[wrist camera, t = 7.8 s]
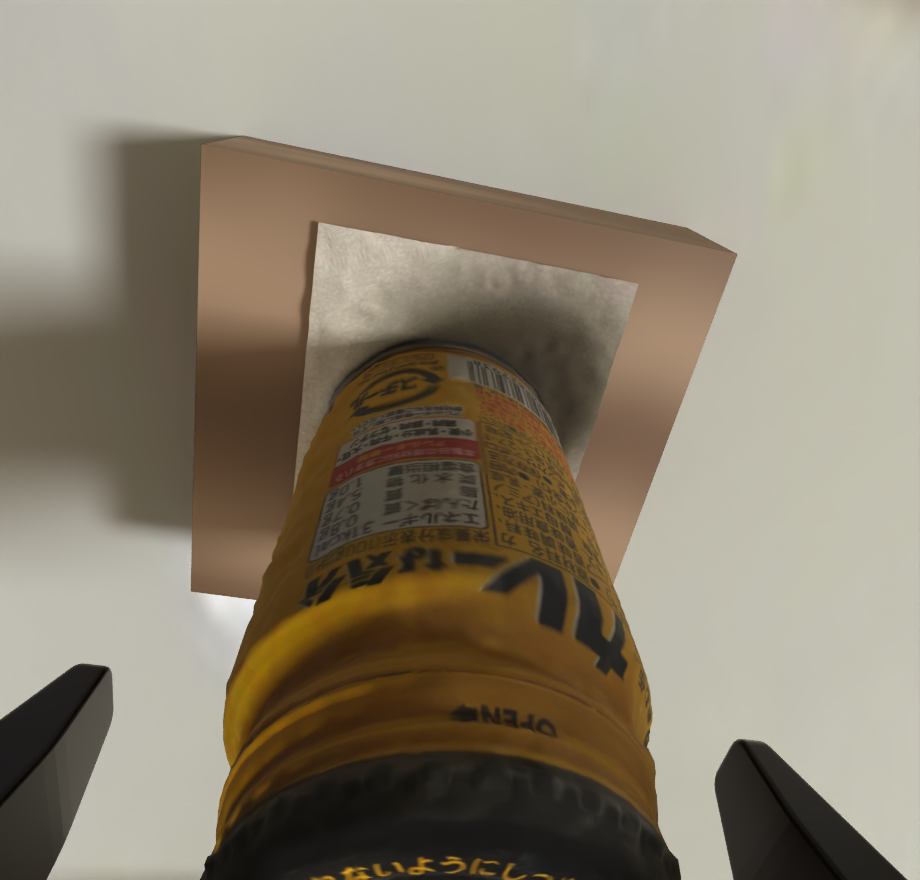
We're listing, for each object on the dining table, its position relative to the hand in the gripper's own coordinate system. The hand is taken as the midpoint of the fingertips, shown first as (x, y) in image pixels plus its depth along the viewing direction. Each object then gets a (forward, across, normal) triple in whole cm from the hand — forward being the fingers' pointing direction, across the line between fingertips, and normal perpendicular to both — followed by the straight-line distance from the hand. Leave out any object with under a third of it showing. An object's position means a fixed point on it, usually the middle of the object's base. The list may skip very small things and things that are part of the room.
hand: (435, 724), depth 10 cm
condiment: (+9, 0, -1) cm, 9 cm away
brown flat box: (+13, 0, 0) cm, 13 cm away
